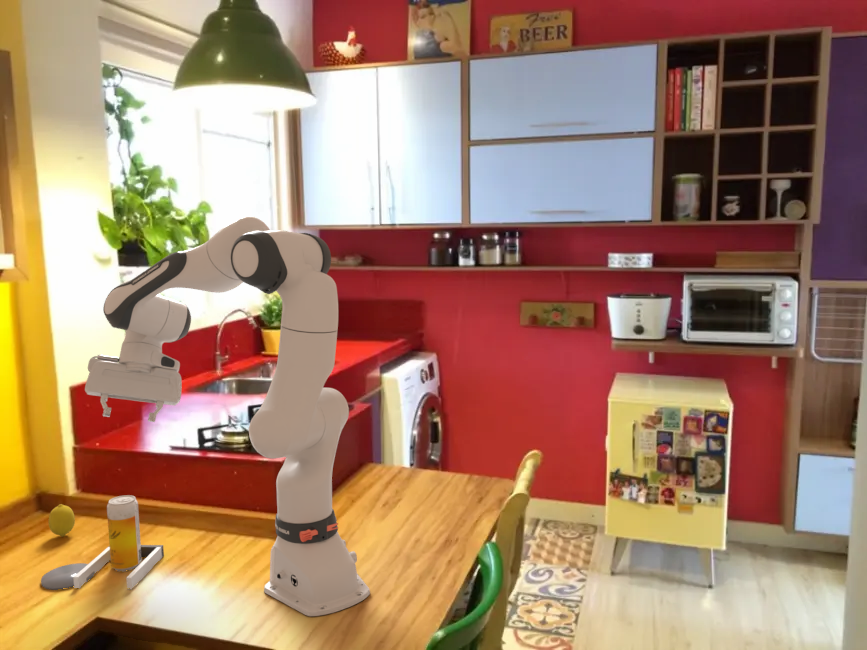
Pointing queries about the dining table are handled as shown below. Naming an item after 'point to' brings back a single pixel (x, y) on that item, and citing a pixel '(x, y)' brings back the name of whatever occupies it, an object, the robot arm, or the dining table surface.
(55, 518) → the lemon
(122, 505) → the beer can
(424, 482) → the dining table surface
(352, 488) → the dining table surface
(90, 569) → the channel
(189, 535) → the dining table surface
